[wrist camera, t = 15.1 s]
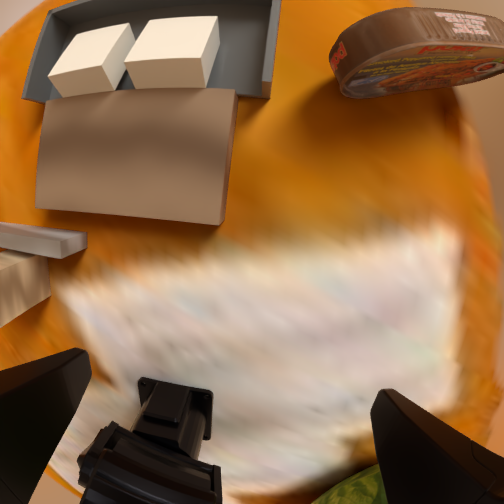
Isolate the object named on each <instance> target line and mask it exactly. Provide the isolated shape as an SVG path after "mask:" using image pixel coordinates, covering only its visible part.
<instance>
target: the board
mask: <svg viewBox="0 0 504 504" xmlns="http://www.w3.org/2000/svg"><path fill="white" fill-rule="evenodd" d="M237 108H238V97H237V94H236V91H235V89H220V88H146V89H129V90H117V91H107V92H98V93H90V94H83V95H76V96H70V97H64V98H58V99H53V100H48V101H46V105H45V111H44V116H43V122H42V129H41V136H40V144H39V152H38V163H37V176H36V198H35V208H40V209H53V210H66V211H78V212H90V213H101V214H112V215H123V216H133V217H144V218H154V219H163V220H173V221H183V222H192V223H201V224H210V225H220V224H221V223H222V222H223V221H224V219H225V209H226V199H227V190H228V181H229V172H230V164H231V155H232V147H233V139H234V131H235V123H236V115H237Z"/></svg>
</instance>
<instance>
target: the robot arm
mask: <svg viewBox="0 0 504 504" xmlns="http://www.w3.org/2000/svg"><path fill="white" fill-rule="evenodd" d="M91 375H92V370H91V365H90V360H89V355H88V352H87V351H86V350H83V349H80V348H72V349H69V350H66V351H63V352H60V353H57V354H54V355H50V356H47V357H44V358H41V359H38V360H35V361H31V362H28V363H25V364H22V365H18V366H15V367H12V368H8V369H5V370H2V371H0V504H28V503H29V501H30V498H31V496H32V494H33V492H34V490H35V488H36V486H37V484H38V482H39V480H40V478H41V476H42V474H43V472H44V470H45V468H46V466H47V464H48V462H49V460H50V458H51V456H52V455H53V453H54V451H55V449H56V447H57V445H58V443H59V442H60V440H61V438H62V436H63V434H64V433H65V431H66V429H67V427H68V425H69V424H70V422H71V420H72V418H73V416H74V415H75V413H76V411H77V408H78V406H79V404H80V401H81V399H82V397H83V395H84V392H85V390H86V388H87V386H88V383H89V381H90V379H91ZM143 382H144V383H145V384H144V383H143ZM138 387H139V395H140V402H141V410H140V412H139V414H138V416H137V418H136V420H135V422H134V424H133V426H132V428H131V430H130V431H129V430H127V429H125V428H123V427H121V426H119V424H117V423H115V422H114V421H112V422H111V423H110V424H109V426H108V427H107V426H106V427H105V428H104V429H101V430H100V431H99V433H98V435H97V436H96V438H95V439H94V441H93V442H92V443H91V445H90V446H88V447H87V448H86V449H85V450H84V451H83V452H82V453H81V454H80V455H79V457H78V459H77V463H78V466H79V468H80V471H79V475H80V476H79V480H78V484H79V485H81V486H82V487H84V488H86V489H85V491H84V494H83V496H82V498H81V501H80V504H222V485H221V467H219V466H216V465H210V464H207V463H204V462H201V461H198V456H199V452H200V447H201V443H202V440H210V438H211V427H212V409H213V393H212V392H211V391H210V390H206V389H199V388H194V387H188V386H183V385H177V384H172V383H168V382H163V381H158V380H154V379H149V378H145V377H141V378H140V379H139V381H138ZM205 395H208V396H205ZM370 415H371V422H372V429H373V436H374V444H375V451H376V456H377V460H378V464H379V468H380V472H381V477H382V481H383V485H384V489H385V494H386V498H387V503H388V504H504V458H503V457H501V456H499V455H497V454H495V453H493V452H491V451H490V450H488V449H486V448H484V447H483V446H481V445H479V444H478V443H476V442H475V441H473V440H471V439H470V438H468V437H466V436H465V435H463V434H462V433H460V432H458V431H457V430H455V429H454V428H452V427H451V426H449V425H447V424H446V423H444V422H443V421H441V420H440V419H438V418H437V417H435V416H433V415H432V414H430V413H429V412H427V411H426V410H424V409H423V408H421V407H420V406H418V405H417V404H415V403H414V402H412V401H411V400H409V399H408V398H406V397H405V396H403V395H402V394H400V393H399V392H397V391H396V390H394V389H381V390H380V391H379V392H378V394H377V397H376V399H375V401H374V403H373V406H372V408H371V412H370Z"/></svg>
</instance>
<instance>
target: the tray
mask: <svg viewBox="0 0 504 504" xmlns="http://www.w3.org/2000/svg"><path fill="white" fill-rule="evenodd" d="M281 1H282V0H77V1H74V2H71V3H68V4H65V5H63V6H60V7H57V8H55V9H52V10H49V12H48V14H47V17H46V19H45V22H44V24H43V27H42V29H41V32H40V35H39V38H38V40H37V43H36V46H35V49H34V53H33V56H32V59H31V62H30V66H29V69H28V73H27V77H26V81H25V85H24V89H23V93H22V98H21V99H25V100H29V101H33V102H36V103H40V104H44V105H46V101H48V100H53V99H58V98H63V97H62V96H61V94H60V93H59V92H58V90H57V89H56V88H55V86H54V85H53V83H52V82H51V81H50V79H49V78H48V75H49V73H50V72H51V70H52V69H53V67H54V66H55V64H56V63H57V61H58V60H59V58H60V57H61V55H62V54H63V52H64V51H65V50H66V48H67V47H68V45H69V44H70V43H71V41H72V40H73V39H74V37H75V36H76V35H77V34H80V33H84V32H88V31H92V30H96V29H100V28H105V27H110V26H115V25H120V24H126V23H129V24H130V27H131V29H132V32H133V35H134V38H135V41H136V40H137V39H138V37H139V36H140V34H141V33H142V31H143V30H144V28H145V26H146V25H147V23H148V22H149V21H150V20H155V19H165V18H177V17H196V16H218V26H219V38H220V46H219V48H218V51H217V54H216V57H215V60H214V63H213V66H212V70H211V73H210V76H209V79H208V82H207V86H206V88H220V89H235V91H236V94H237V96H243V97H254V98H264V99H270V94H271V85H272V77H273V69H274V60H275V52H276V44H277V35H278V27H279V18H280V10H281ZM129 89H135V87H134V84H133V82H132V80H131V78H130V75H129V73H128V71H127V69H126V70H125V72H124V74H123V76H122V78H121V80H120V81H119V83H118V85H117V87H116V90H115V91H117V90H129Z"/></svg>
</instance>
